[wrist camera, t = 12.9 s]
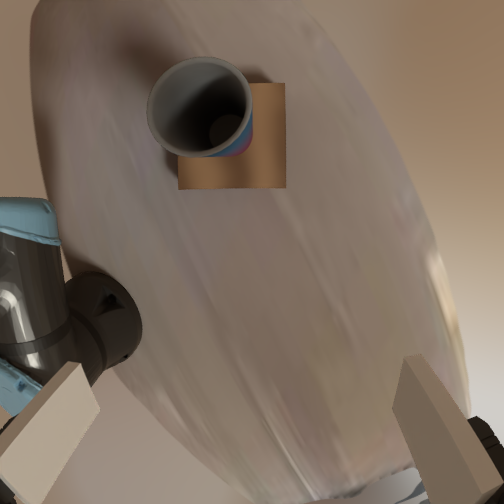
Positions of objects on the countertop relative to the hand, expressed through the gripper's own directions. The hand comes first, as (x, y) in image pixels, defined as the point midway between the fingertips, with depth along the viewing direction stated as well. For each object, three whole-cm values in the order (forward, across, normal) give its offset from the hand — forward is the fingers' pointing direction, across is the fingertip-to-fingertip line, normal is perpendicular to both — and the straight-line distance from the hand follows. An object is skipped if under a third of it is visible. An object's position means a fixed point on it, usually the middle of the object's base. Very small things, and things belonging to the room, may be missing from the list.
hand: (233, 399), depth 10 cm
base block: (+28, -2, +13) cm, 31 cm away
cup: (+25, -2, +13) cm, 28 cm away
